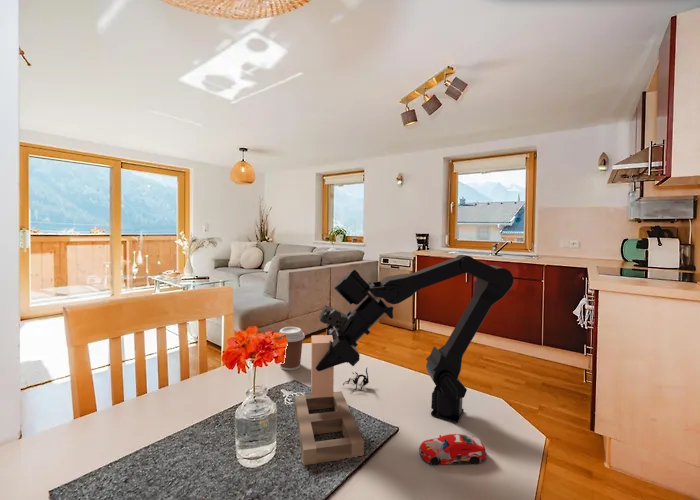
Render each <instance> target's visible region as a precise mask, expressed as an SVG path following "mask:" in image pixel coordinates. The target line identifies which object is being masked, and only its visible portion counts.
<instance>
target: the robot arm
mask: <svg viewBox="0 0 700 500" xmlns="http://www.w3.org/2000/svg"><path fill="white" fill-rule="evenodd" d="M464 274H468V275H469V276H471V277H473V278H476V279H475V283H474V289H473V295H472V297H471V300H469V303H468V304H467V306H466V308H465V310H464V311H463V313H462V315H461V316H460V319H458V322H457V324H456V325H455V327H454V329H453V330H452V332H451V334H450V336H449V338H448V339H447V341H446V343H444V345H443V346H441V347H440V348H437V347H436V346H433V347H432V349H431V351H430V354H429V356H427V357H426V359H425V360H426V365H425V368H426V372H427V373H428V375H429V377H430V378H431V380H432V381H433V383H434V385H435V386H434V388H433V391H432V393H431V406H430V407H431V409H432V410H431V412H430V413H431V416H433V417H436V418H439V419H442V420H445V421H449V422H452V423H455V424H458V423H459V422H460V419H461V417H462V416H463V413H464V410H465V409H464V408H463V399H464V398H465V395H466V394H467V390H468V389H467V387H466V386H465V384H463V382H462V381H461V380H460V379H459V376H460V373H461V370H462V362H463V357H464V354H465V353H466V351H467V349H468V348H469V346H470V344H471V342H472V341H473V338H474V337H475V336H476V334H477V332H478V330H479V329H480V326H481V325H482V323H483V322H484V320H485V318H486V317H487V315H488V313H489V312H490V309H491V308H492V306H493V305H495V304H496V303H498V302H499V301H500V300H501V299H503V298H505V296H506V295H507V294H508V292H509V291H510V290H511V289H512V287H513V285H514V282H515V279H514V276H513V274H512V272H511V270H509V269H508V268H504V267H501V266H497V265H490V264H489V265H488V264H486V263H484V262H481V261H479V260H477V259H475V258H473V256H471V255H470V256H469V255H465V254H459V255H457V256H455V257H453V258H450V259H448V260H445V261H442V262H439V263H437V264H434V265H432V266H428V267H424V268H422V269H419V270H418V271H414V272H411V273H402V274H394V275H390V276H389V275H388V276H385V277H384V278H382V279H381V281H372V282H367V281H366V280H365V279H364V278H363V277H362V275H360V273H359V271H358V270H357V269H356V268H353V269H352V270H351V271H350V272H348V273H346V275H344V276H342V277H341V278H340V279H339V280H338V281H337V282H336V284H334V286H333V289H334V290H335V291H336V292H337V293H338V294H339V295H340V296H341V297H342V298H343V299H344V300H345V302H347V303H348V305H357V307H356V308H355V309H354V310H348V311H347V312H345V313H344V312H342V311H340V310H337V309H336V308H333V307H332V306H331V307H330V306H328V305H326V304H325V305H323V308H322V309H321V312H320V314H319V316H318V317H319V321H320V322H321V323H323V324H325V325H326V326H327V328H326V329H325V333H326V334H325V335H332V336H333V342H331V341H329V350H328V352H327V353H326V354H325V356H324V357H323V358H322V359H321V361H320V362H319V364H318V365H317V366H316V370H317V371H322V370H324V369H327V368H330V367H333V366H334V367H336V366H339V365H342V364H345V363H347V364H349V365H350V366H352V367H355V366H356V364H358V362H359V361H360V352H359V350H358V348H357V346H358V341H359V340H360V339H362V337H363V336H364V335H367V336H368V335H369V334H370V333H371V331H370V329H371V328H372V327H373V326H374V325H375V324H376V323H377V322H378V321H379V320H380V319H381V318H382V317H383V316H384V315H386V316H387V317H388V318H390V319H394V313H393V311H394V307H393V306H392V305H397V304H400V303H402V302H404V301H406V300H407V299H410V298H411V297H412V296H413V295H414V294H416V293H417V292H418V291H420V290H422V289H425V288H427V287H430V286H433V285H435V284H438V283H441V282H444V281H446V280H450V279H453V278H455V277H458V276H460V275H464ZM369 292H370V293H371V294H372V295H373V296H374V297H375V298H374V297H373V296H372V295H371V294H370V293H369ZM382 299H383V300H384V301H385V302H386V303H389V304H390V305H387V304H386V303H385V302H384V301H383V300H382ZM328 328H329V329H328Z"/></svg>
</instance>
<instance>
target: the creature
mask: <svg viewBox="0 0 700 500" xmlns="http://www.w3.org/2000/svg"><path fill="white" fill-rule="evenodd" d="M351 373H352V374H353V376H354V375H355V377H349V379H348V380H345V381H344V382H343V383H342V385H345V384H347V385H349V384H352V385H353V386H355V389H352V390H351V394H353V393H354V392H355V391H357V390H358V385H359V386H361V387H360V391H363V387H365V386H366V385H368V384H369V383H370V382H369V373H368V367H366V369H365V374H366V375H364V374H358V372H356V371H355V372H353V371H351ZM361 377H363V379H362V381H361V382H360V383H358V382H359V380H360V378H361ZM351 381H352V382H353V383H352V382H351ZM350 382H351V383H350Z"/></svg>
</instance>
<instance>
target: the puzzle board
mask: <svg viewBox="0 0 700 500" xmlns="http://www.w3.org/2000/svg"><path fill="white" fill-rule="evenodd" d="M330 408H331V409H333V410H334V411H328V412H327V411H326V412H318V413H309V411H315V409H316V410H322V409H330ZM313 409H314V410H313ZM294 412H295V417H296V423H297V424H296V425H297V433H298V438H299V446H300V451H301V458H302V459H301V460H302V465H303V466H306V465H313V464H315V465H316V464H320V463H327V462H333V461H340V459H342V460H346V459H345V458H349V459H352V458H351V457H355V458H357V457H356V456H362V457H364V456H365V454H364V453H365V451H364V450H365V441H364V439H363V436H362V435H361V432H360V430H359V427H358V425H357V423H356V420H355V418H354V416H353V413H352V412H351V410H350V407H349V405H348V402H347V400H346V398H345V396H344V393H343V392H342V391H333V397H318V398H312V393H311V394H310V393H309V394H301V395H295V396H294ZM339 432H341V433H342V436H343V437H342V438H335V439H327V440H319V441H316V440H315V435H320V434H330V433H339ZM363 455H364V456H363Z"/></svg>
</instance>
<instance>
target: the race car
mask: <svg viewBox="0 0 700 500" xmlns="http://www.w3.org/2000/svg"><path fill="white" fill-rule="evenodd" d="M418 449H419V450H418V451H419V452H418V454H419V456H420V458H421V459H422V460H423V461H424V462H425V463H428V464H430V465H431V466H439V465H442V466H443V465H478V464H479V463H480V464H481V463H485V462H486V460H487V455H488V454H487V451H486V448H485V445H484V443H483V442H482V441H481V440H480V439H479V438H478V437H474V436H471V435H468V434H463V433H462V434H460V433H452V434H451V433H449V434H445V435H441V434H440V435H439V436H438V437H437V438H429V439H426V440H424V441H422V443H421V444H420V445H419V448H418Z"/></svg>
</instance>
